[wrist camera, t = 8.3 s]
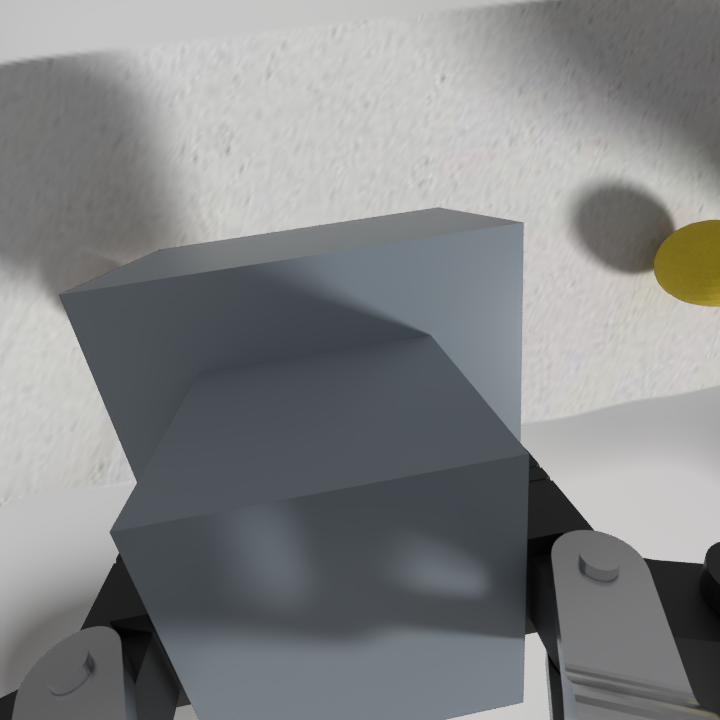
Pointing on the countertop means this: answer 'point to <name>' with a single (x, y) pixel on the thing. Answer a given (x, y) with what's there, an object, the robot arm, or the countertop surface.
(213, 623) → the gray stepped step block
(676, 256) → the lemon
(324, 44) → the countertop surface
